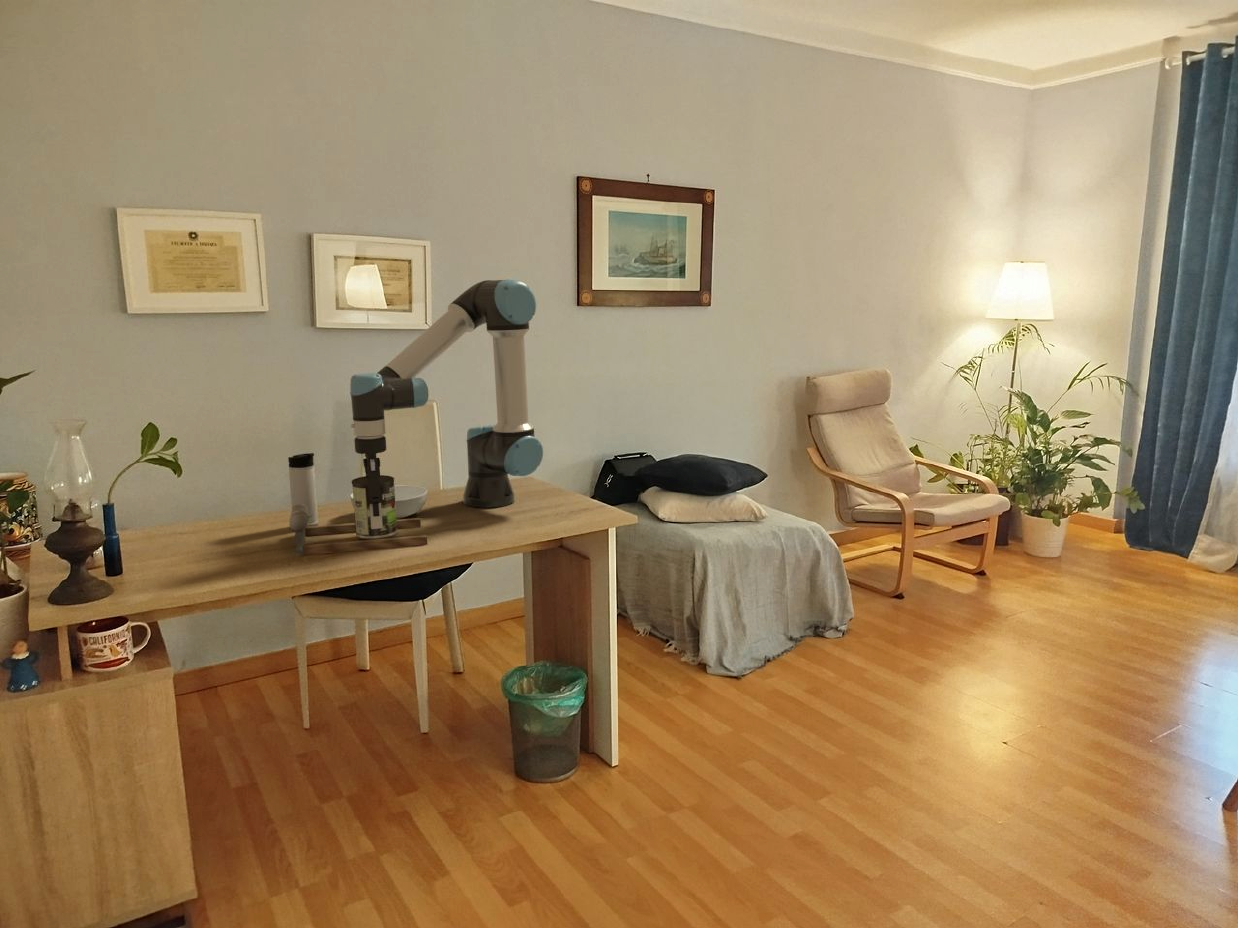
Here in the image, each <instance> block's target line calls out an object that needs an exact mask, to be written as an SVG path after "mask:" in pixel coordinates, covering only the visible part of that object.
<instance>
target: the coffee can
mask: <svg viewBox="0 0 1238 928" xmlns="http://www.w3.org/2000/svg"><path fill="white" fill-rule="evenodd" d="M379 485H380V497H381V509H382V524H383V528H379V529H371V517H370V504H367V501H369V500H370V494H369V482H368V478H367V477H366V475H364V476H359V477H357V478H353V479H352V480H351V486H352V493H353V499H354V507H353V509H354V511H353V512H354V523H355V524H356V532H355V535H356V537H357V538H359V539H364V540H374V539H386V538H390V537H393V536H394V535H396V534H397V533H398V529H397V521H396V520H397V519H396V506H395V491H394V485H395V478H394V477H393V476H391V475H383V474H380V477H379ZM373 498H377V497H373Z"/></svg>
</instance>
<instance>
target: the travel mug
mask: <svg viewBox="0 0 1238 928" xmlns="http://www.w3.org/2000/svg"><path fill="white" fill-rule="evenodd" d="M314 456H315V453H314V452H310V453H309V452H307V453H302V454H301V453H300V454H296V455H295V454H294V455H293V456H289V457H288V458H287V460H288V461H287V462H288V475H289V477H288V478H289V484H290V485H289V487H290V498H291V499H290V500H291V503H290V504H291V509H292V508H293V507H294V506H295V505H297V504H304V505H305V506H307V508H308V520H307V526H306V527H310V526H319V520H318V519H319V518H318V517H319V516H318V504H317V503H318V502H317V489H316V488H317V487H316V486H317V485H316V475H315V471H316V470H315V463H314V462H315V461H314Z"/></svg>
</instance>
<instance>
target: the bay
mask: <svg viewBox="0 0 1238 928" xmlns="http://www.w3.org/2000/svg"><path fill="white" fill-rule="evenodd" d="M307 520H308V508H307V506H305V505H304V504H297V505H295V506H294V507H293V508H292V507H291V513H290V516H289V528H290V529H291V530H292V531H294V543H295V555H296V557H299V556H300V557H301V556H309V555H320V554H332V553H333V554H334V553H343V552H345V553H346V552H352V551H353V552H357V551H368V550H369V551H370V550H378V549H379V550H380V549H388V548H390V549H391V548H401V547H403V548H404V547H412V546H413V545H415V546H423V544H427V545H428V535H427V534H421V535H411V536H410V535H409V536H399V537H398V536H397V537H385V538H378V539H364V540H363V539H362V540H351V541H340V542H328V543H317V544H316V543H315V544H305V541H306V537H309V536H311V537H312V536H320V535H321V536H322V535H332V534H333V535H334V534H346V533H356V524H355V522H351V523H340V524H338V523H337V524H325V525H318V526H310V527H306V526H307ZM396 521H397V530H398V529H408V528H421V527H422V525H421V523H422V521H421V518H420V517H418V518H417V517H414V518H401V519H396ZM413 547H414V546H413Z"/></svg>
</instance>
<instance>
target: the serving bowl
mask: <svg viewBox="0 0 1238 928" xmlns="http://www.w3.org/2000/svg"><path fill="white" fill-rule="evenodd" d="M394 491H395V506H396V520H401V519H405V518H406V517H409V516H412V515H414V514H416V513H418V512H420V511H421V510H422V509H423V507H425V504H426V502H427V499H428V493H429V492H428V489H427V488H425V487H422V486H418V485H406V484H402V485H400V484H399V485H395V484H394ZM349 498H350V501H351V504H352V506H353V508H354V499H353V492H352V493H351V494H350V495H349Z"/></svg>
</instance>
